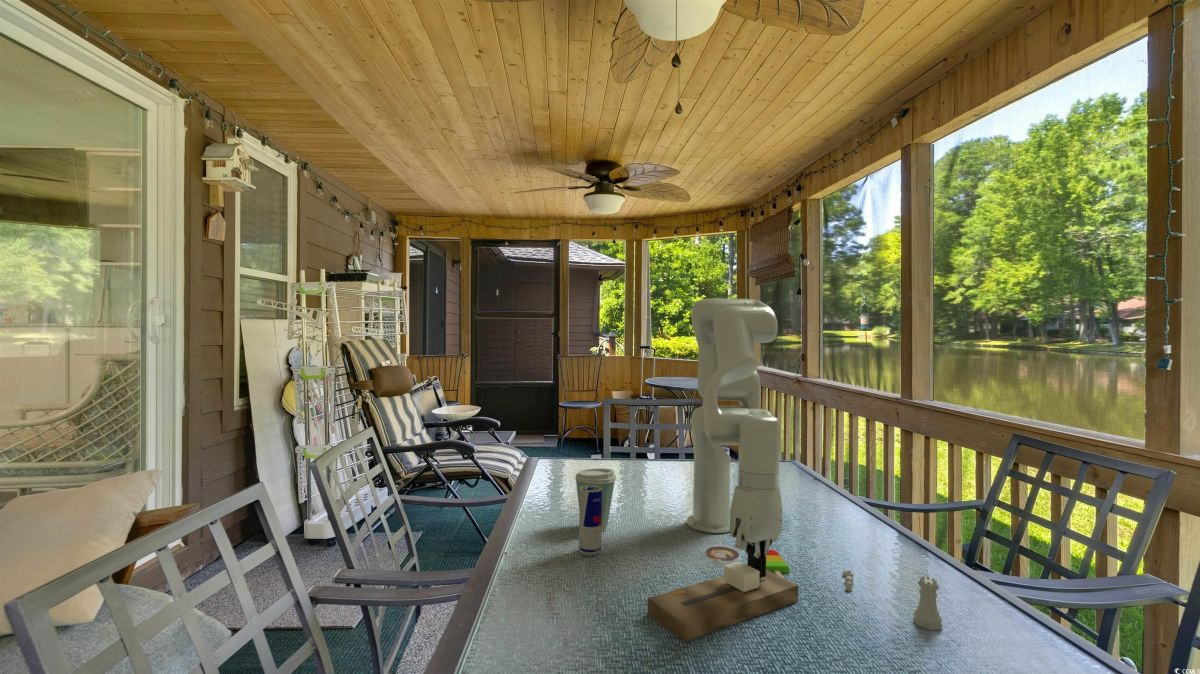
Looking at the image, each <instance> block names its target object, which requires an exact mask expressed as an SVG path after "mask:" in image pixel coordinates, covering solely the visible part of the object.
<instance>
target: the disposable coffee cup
mask: <svg viewBox="0 0 1200 674" xmlns="http://www.w3.org/2000/svg"><path fill="white" fill-rule="evenodd" d="M574 479H575V484H576V491H577V499H578V500H577V502H578V512H579V513H580V487H582V486H585V485H596V486H600V487H602V530H601V533H602V532H604V531H606V529H607V527H608V524H609V517H610V513H611V511H610V510H611V506H612V501H613V500H612V499H613V495H614V494H613V493H614V488H615V482H616V481H617V475H616V474H615V470H614V469H611V468H601V467H599V468H596V467H595V468H593V467H592V468H585V469H581V470H579V471H578V472H577V473H576V475H575V478H574Z"/></svg>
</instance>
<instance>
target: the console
mask: <svg viewBox="0 0 1200 674" xmlns="http://www.w3.org/2000/svg"><path fill="white" fill-rule="evenodd" d="M798 601H799V584H797V583H795V582H792V581H791V580H789V579H787V578H785V577H784V578H782V577H780V576H778V575H776V574H775V573H772V572H770V571H768V570H766V576H765V577H762V578H759V587H758V588H755V589H752V590H749V591H746V592H743V591H741V590H739V589H737V588H735V587H734V586H732V585H730V584H728V583H726V582H725V581H724V575H723V576H718V577H715V578H711V579H708V580H705V581H702V582H697V583H695V584H691V585H688V586H684V587H681V588H677V589H675V590H674V589H673V590H670V591H666V592H664V593H660V594H657V595H653V596H648V597H647V615H648V616H649V617H650V618H652V619H653V620H655V622H657V623H658V624H659V625H661V626H662V627H663V628H665V629H666V630H667V631H668V632H670V633H671V634H673V635H674V636H675V637H677V638H678V639H679V640H681V641H682V642H683V643H684V642H688V641H691V640H693V639H696V638H699V637H701V636H705V635H707V634H710V633H713V632H715V631H718V630H721V629H723V628H727V627H729V626H732V625H735V624H738V623H741V622H744V621H746V620H749V619H752V618H754V617H755V618H756V617H758V616H760V615H763V614H766V613H769V612H771V611H774V610H777V609H779V608H782V607H783V608H784V607H786V606H787V605H792V604H794V603H796V602H798Z"/></svg>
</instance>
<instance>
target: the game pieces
mask: <svg viewBox="0 0 1200 674" xmlns="http://www.w3.org/2000/svg"><path fill="white" fill-rule="evenodd" d="M842 576H843V577H845V578H844V583H845V584H844V585H845V588H846V591H847V592H853V585H854V573H852V571H851V570H848V569H847V570H844V571H842Z"/></svg>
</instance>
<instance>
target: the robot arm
mask: <svg viewBox="0 0 1200 674" xmlns="http://www.w3.org/2000/svg"><path fill="white" fill-rule="evenodd" d="M690 316H691V326H692V330H693V333H694V336H695V340H696V343H697V348H698V352H697V353H698V356H697V357H698V358H697V391H698V393H699V396H700V397H701V398H702V405H701V406H699V407H696V408H695V409H694V410H693V411H692V414H691V418H690V419H691V421H690V422H691V431H692V432H691V433H692V439H693V441H692V442H693V491H692V492H693V494H692V496H693V500H692V503H693V504H692V514H691V515H689V516H688V517H687V519H686V524H687V525H688V527H690V528H691V529H693V530H695V531H698V532H703V533H708V534H725V533H729V535H730V537H732V538H735V542H734V548H737V549H738V550H741V551H744V552H745V554H746V555H747V564H746V565H748V566H750V567H752V568H754V569H756V570H758V571H760V574H759V578H762V577H765V576H766V556H767V555H768V554H769V550H770V547H771V546H772V544H773V543H775V542H776V541H778V540H779V536H780V535H781V534H782V531H783V503H782V493H781V488H780V486H779V485H780V480H779V479H780V447H781V446H780V445H781V444H780V441H781V440H780V439H781V438H780V436H781V435H780V433H781V425H780V421H779V419H778V418H777V417H776V416H774V415H773V414H772V412H771V411H769V410H767V409H764V408H761V380H760V375H759V372H758V367H759V360H758V356H757V351H756V350H757V349H756V346H755V343H756V344H757V343H758V344H759V343H760V344H761V343H764V344H766V343H768V344H769V343H771V342H773V341H774V340H775V339H776V337H777V334H778V331H779V328H778V327H779V326H778V320H777V316H776V314H775V312H774V310H773V309H772V308H771V307H770V306H769V305H768V304H766V303H764V302H762V301H761V300H758V299H753V298H727V297H726V298H724V297H723V298H718V297H715V298H714V297H713V298H704V299H703V298H701V299H699V300H697V301H696V302H694V304H693V306H692V307H691V315H690ZM718 401H719V402H720V401H722V402H723V401H725V402H726V401H727V402H739V404H740V405H725V404H724V405H721V404H720V405H719V402H718ZM723 446H738V469H737V472H738V473H737V474H738V475H737V485H736V486H735V487H734V490H733V494H732V501H731V473H732V472H731V469H732V468H731V463H732V462H731V461H732V460H731V458H730V455H729V454H728V452H727V451H726V449H725V448H724V447H723ZM765 555H766V556H765Z"/></svg>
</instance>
